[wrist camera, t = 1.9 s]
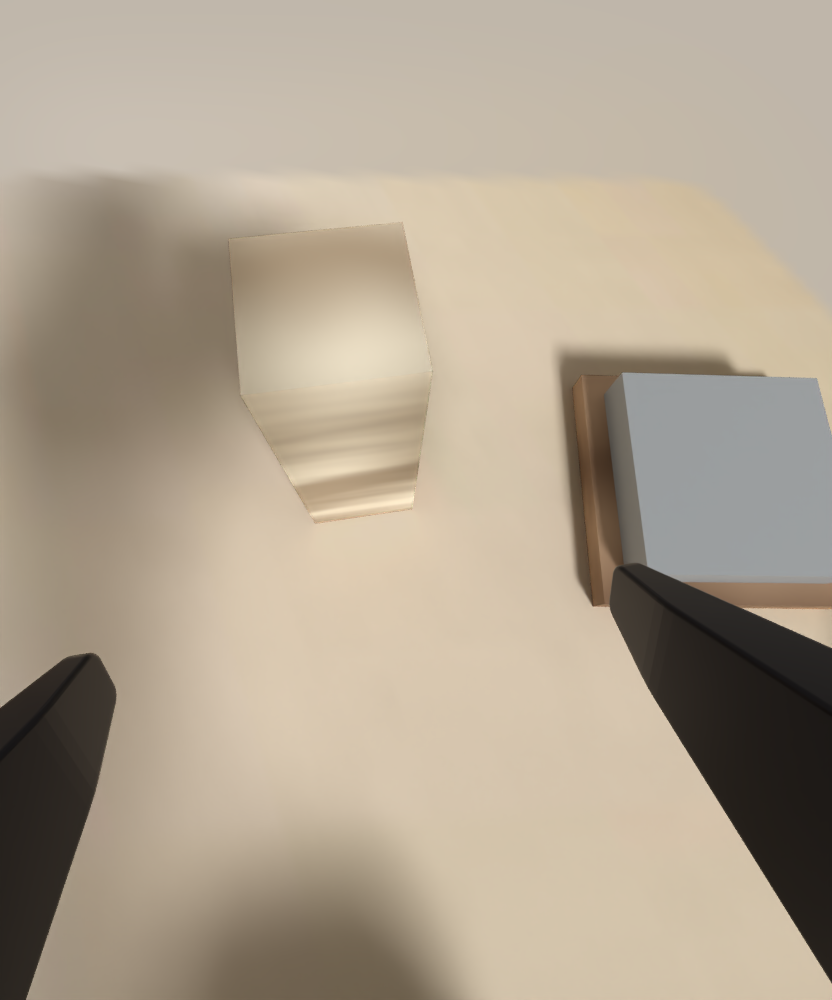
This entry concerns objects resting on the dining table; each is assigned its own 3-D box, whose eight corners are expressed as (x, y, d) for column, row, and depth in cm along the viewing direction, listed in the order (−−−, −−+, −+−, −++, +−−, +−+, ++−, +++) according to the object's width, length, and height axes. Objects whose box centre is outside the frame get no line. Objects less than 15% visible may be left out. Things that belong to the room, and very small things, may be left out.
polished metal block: (412, 508, 23) (432, 371, 12) (315, 523, 23) (240, 395, 11) (397, 421, 25) (402, 222, 13) (305, 434, 24) (227, 238, 13)
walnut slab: (815, 610, 24) (853, 606, 22) (587, 607, 23) (604, 603, 21) (769, 401, 27) (798, 381, 25) (567, 395, 26) (581, 374, 24)
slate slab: (826, 583, 22) (868, 576, 20) (625, 581, 22) (648, 574, 20) (783, 399, 25) (816, 378, 23) (603, 394, 24) (622, 372, 22)
